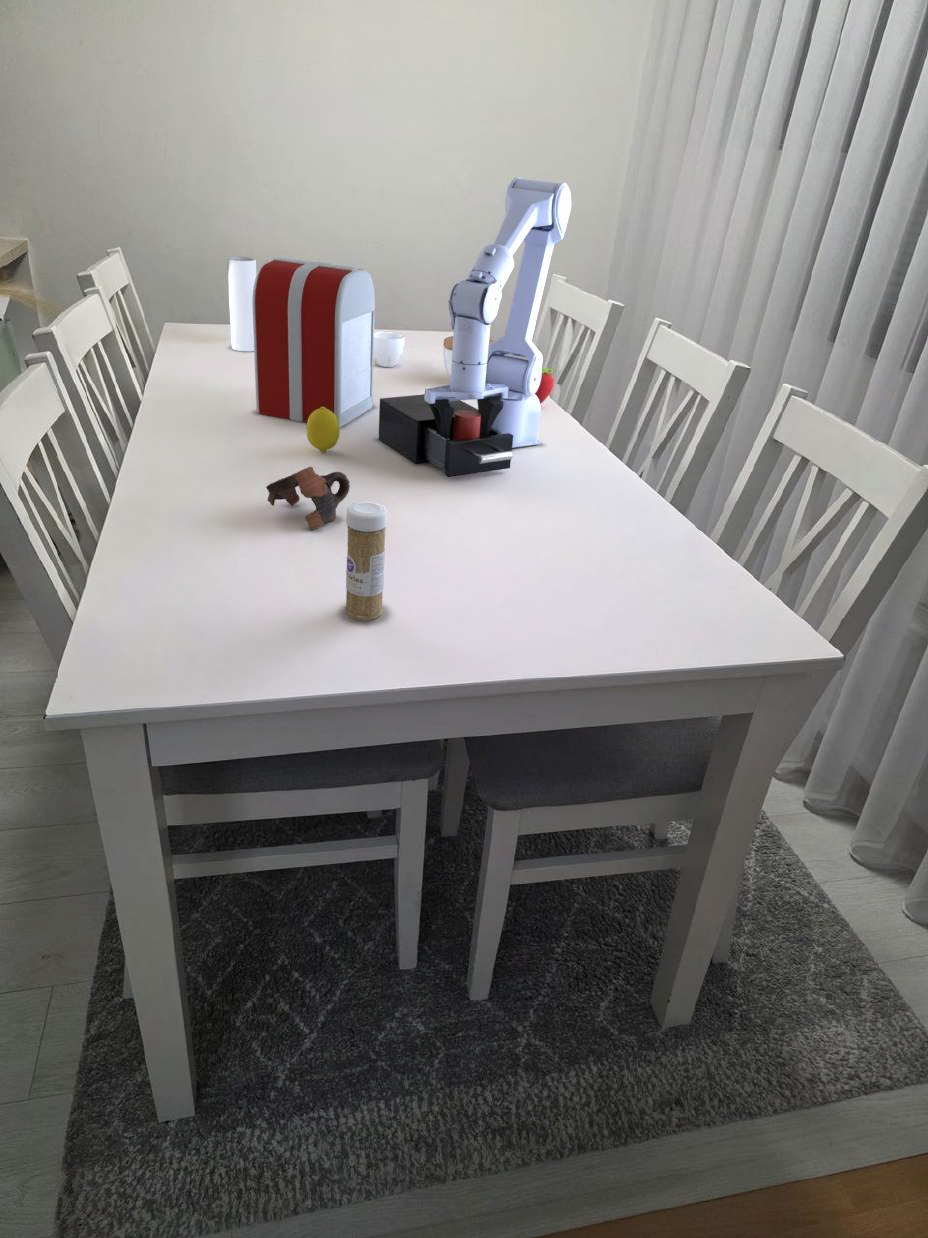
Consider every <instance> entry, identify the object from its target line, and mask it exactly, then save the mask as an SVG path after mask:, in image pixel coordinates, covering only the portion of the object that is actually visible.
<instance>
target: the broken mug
mask: <svg viewBox="0 0 928 1238" xmlns="http://www.w3.org/2000/svg"><path fill="white" fill-rule="evenodd" d="M335 482H337V483H338V485H339V486H338V490H337V491H336V493H333V491H332V486H333V485H334V483H335ZM350 482H351V481H350V480H349V478H348V477H347V475H346V474H344V472H341V471H333V472H330V473H328V474H325V475H319V474H317V473H316V472H315V470H314V467H313V466H308V467H306V468H304V469H301V470H299V471H297V472H295V473H292V474H291V475H288V476H286V477H284V478H281V479H278V480H275V481H273V482H271V483H269V484H267V486H265V488H266V490H267V492H268V496H267V502H269V504H270V505H271V506H275V501H276V500H278V501H281V500H285V501H286V503H288V504H289V505H290V506H292V507H293V506H295V504H297V503H299V501H300V500H301V499H300V495H299V494H298V492H297V487H298V488H299V491H300V494H301V495H302V496H303V497H305V498H307V499H311V502H312V503H313V505H314V507H315V509H314V510H313V511H312V512H310V513H308V514H305V515H304V519H305V521H306V522H307V526H308V528H309V530H310V531H313V530H316V529H318V528H321V527H323V526H325V525H327V524H329V523H332V522H335V521H336V520H337V508H338V505H339V504H340V503H341V502H342V501H344V499H346V498H347V496H348V495H349V492H350V487H351V484H350Z"/></svg>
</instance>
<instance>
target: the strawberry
mask: <svg viewBox="0 0 928 1238" xmlns="http://www.w3.org/2000/svg"><path fill="white" fill-rule="evenodd" d="M546 361H547V359H545V360H544V361H543V362H542V369H541V372H542V374H541V381H540V385H539V388H538V390H537V391H536V393H535V395H536V396H537V397H538V399H539V401H540V405H542V403H544V402H545V401H546V400H547V398H548V397H549V396H550V394H551V393H552V390H553V388H554V387H555V385H554V384H555V382H554V381H555V380H554V377H553V374H552V372H555V371H556V370H555V369H550V368H546V369H545V368H544V367H543V365H544V364H545V363H546Z"/></svg>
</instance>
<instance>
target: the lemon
mask: <svg viewBox="0 0 928 1238" xmlns="http://www.w3.org/2000/svg"><path fill="white" fill-rule="evenodd" d="M306 437H307V440H308V442H309V444H310V445H311V446H312V447H313V448H315V449H317V450H318V451H319V452H320V453H323V454H324V453H326V452H327V451H328V450H330V449H332V448H334V447H335V446H336V444H338V441H339V438H340V428H339V423H338V420H337V417H336V416H335V414H334V413H333V412H332V411H330V410H328V409H326V408H325V407H321V408H320V409H317V410H315V411H314V412H313V413H312V414H311V415H310V416H309V419H308V422H306Z"/></svg>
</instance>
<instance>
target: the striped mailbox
mask: <svg viewBox="0 0 928 1238" xmlns="http://www.w3.org/2000/svg"><path fill="white" fill-rule="evenodd" d="M256 272H257V274H256V278H255V282H254V287H253V297H252V310H253V335H254V351H253V355H254V357H253V359H254V381H255V383H254V384H255V406H256V407H255V408H256V414H260V415H264V416H269V417H275V418H279V419H280V418H281V419H285V420H290V421H294V422H299V423H307V422H308V419H309V416H310V415H311V414H312V413H313V412H314V411H315V410H317V409H320V408H321V407H325V408H326V409H328V410H330V411H332V412H333V413H334V414H335V416H336V417H337V420H338V423H339V429H340V428H342V427H343V426H345V425H347V424H348V423H350V422H351V421H353V420H355V419H356V418H357V417H359V416H361V415H363V414H364V413H367V411H369V410H371V409H372V408H373V395H374V394H373V393H374V392H373V391H374V390H373V389H374V361H373V358H374V333H375V320H376V319H375V318H376V317H375V316H376V315H375V314H376V296H375V294H376V293H375V286H374V281H373V279H372V276H371V274H370V273H369V272H368V270H366V269H361V268H358V267H351V266H345V265H337V264H332V263H329V262H320V261H308V260H300V259H292V258H286V257H278V256H277V257H274V258H273V259H271V260H269V261H267V262H265V263H262V264H261V266H260V267H259V268H258V270H257V271H256Z"/></svg>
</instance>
